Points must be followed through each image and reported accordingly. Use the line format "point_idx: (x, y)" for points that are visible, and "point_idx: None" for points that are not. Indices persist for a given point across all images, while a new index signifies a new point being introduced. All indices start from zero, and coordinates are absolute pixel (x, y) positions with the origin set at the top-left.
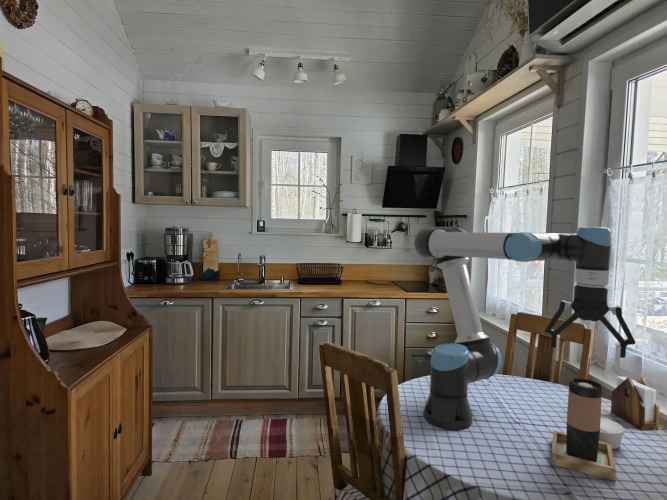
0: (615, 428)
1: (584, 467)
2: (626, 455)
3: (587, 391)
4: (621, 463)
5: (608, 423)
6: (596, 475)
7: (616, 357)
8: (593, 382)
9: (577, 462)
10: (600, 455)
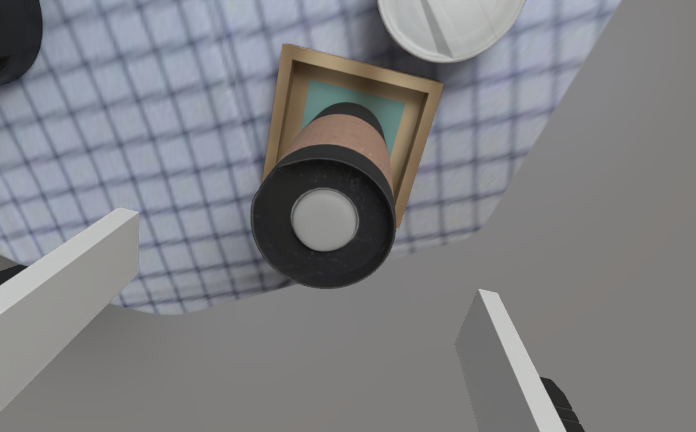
0: (494, 7)
1: None
2: (486, 69)
3: (317, 280)
4: (449, 125)
5: None
6: None
7: (475, 410)
8: (374, 181)
9: None
10: (400, 118)
